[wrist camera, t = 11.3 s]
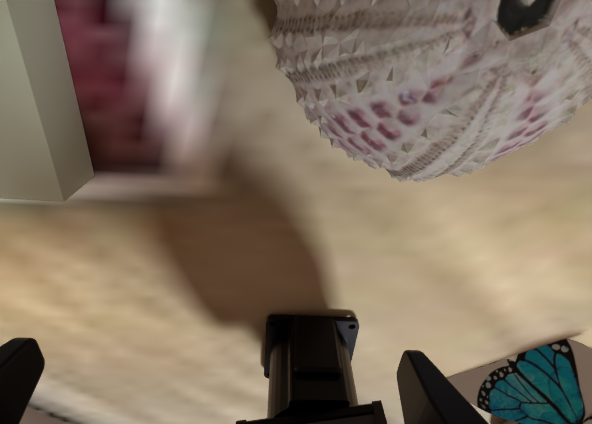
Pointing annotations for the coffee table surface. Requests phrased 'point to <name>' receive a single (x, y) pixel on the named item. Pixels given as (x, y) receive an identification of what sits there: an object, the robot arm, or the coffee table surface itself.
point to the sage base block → (38, 107)
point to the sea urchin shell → (435, 76)
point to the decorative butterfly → (534, 385)
